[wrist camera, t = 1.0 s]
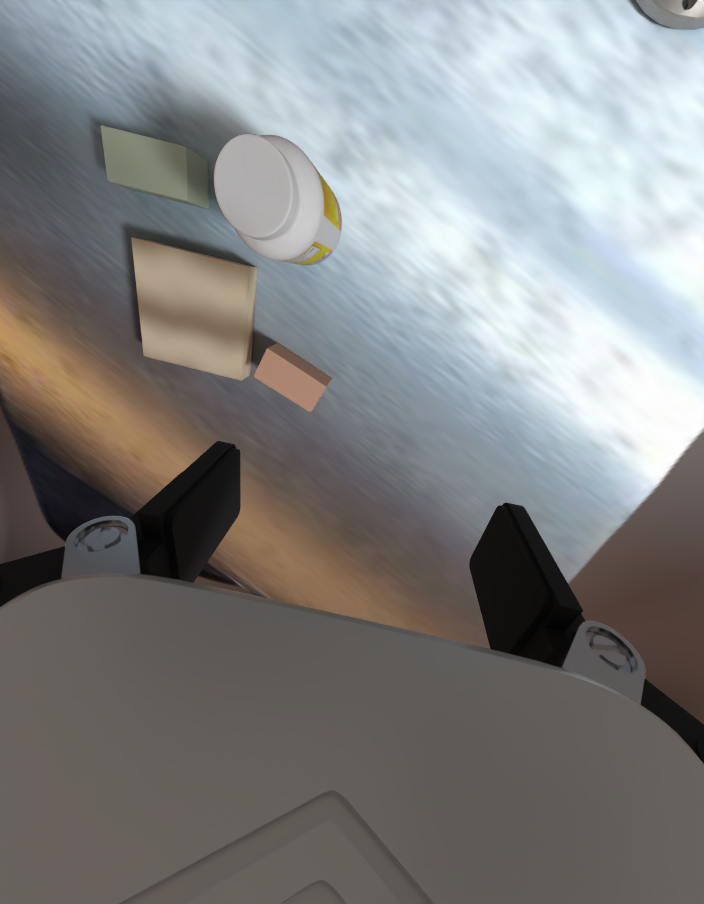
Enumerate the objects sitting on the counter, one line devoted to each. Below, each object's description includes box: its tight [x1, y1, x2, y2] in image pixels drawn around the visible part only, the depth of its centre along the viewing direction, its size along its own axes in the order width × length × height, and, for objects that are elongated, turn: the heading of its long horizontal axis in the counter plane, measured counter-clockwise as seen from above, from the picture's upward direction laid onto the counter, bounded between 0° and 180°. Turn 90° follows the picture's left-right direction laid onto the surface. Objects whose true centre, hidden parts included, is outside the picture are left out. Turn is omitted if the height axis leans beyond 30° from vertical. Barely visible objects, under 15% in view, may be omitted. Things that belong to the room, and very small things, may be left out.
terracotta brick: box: [254, 343, 332, 412], centre depth 34 cm, size 7×4×4 cm, turn 58°
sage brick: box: [100, 125, 208, 209], centre depth 27 cm, size 7×4×4 cm, turn 78°
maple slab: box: [131, 237, 257, 380], centre depth 33 cm, size 11×11×2 cm
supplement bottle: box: [214, 134, 342, 265], centre depth 23 cm, size 7×7×13 cm
